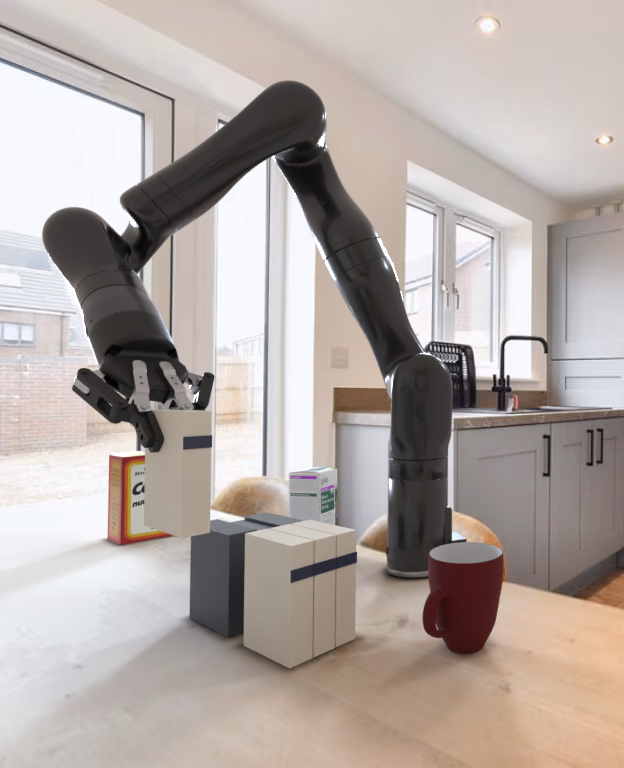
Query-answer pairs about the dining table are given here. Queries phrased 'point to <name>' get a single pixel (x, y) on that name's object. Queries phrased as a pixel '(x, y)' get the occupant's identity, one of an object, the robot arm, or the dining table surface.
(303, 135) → the robot arm
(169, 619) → the dining table surface
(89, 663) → the dining table surface
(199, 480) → the white book
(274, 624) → the white books
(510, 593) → the dining table surface
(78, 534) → the dining table surface
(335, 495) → the syrup box
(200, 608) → the grey books
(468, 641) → the mug
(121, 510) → the baking soda box
